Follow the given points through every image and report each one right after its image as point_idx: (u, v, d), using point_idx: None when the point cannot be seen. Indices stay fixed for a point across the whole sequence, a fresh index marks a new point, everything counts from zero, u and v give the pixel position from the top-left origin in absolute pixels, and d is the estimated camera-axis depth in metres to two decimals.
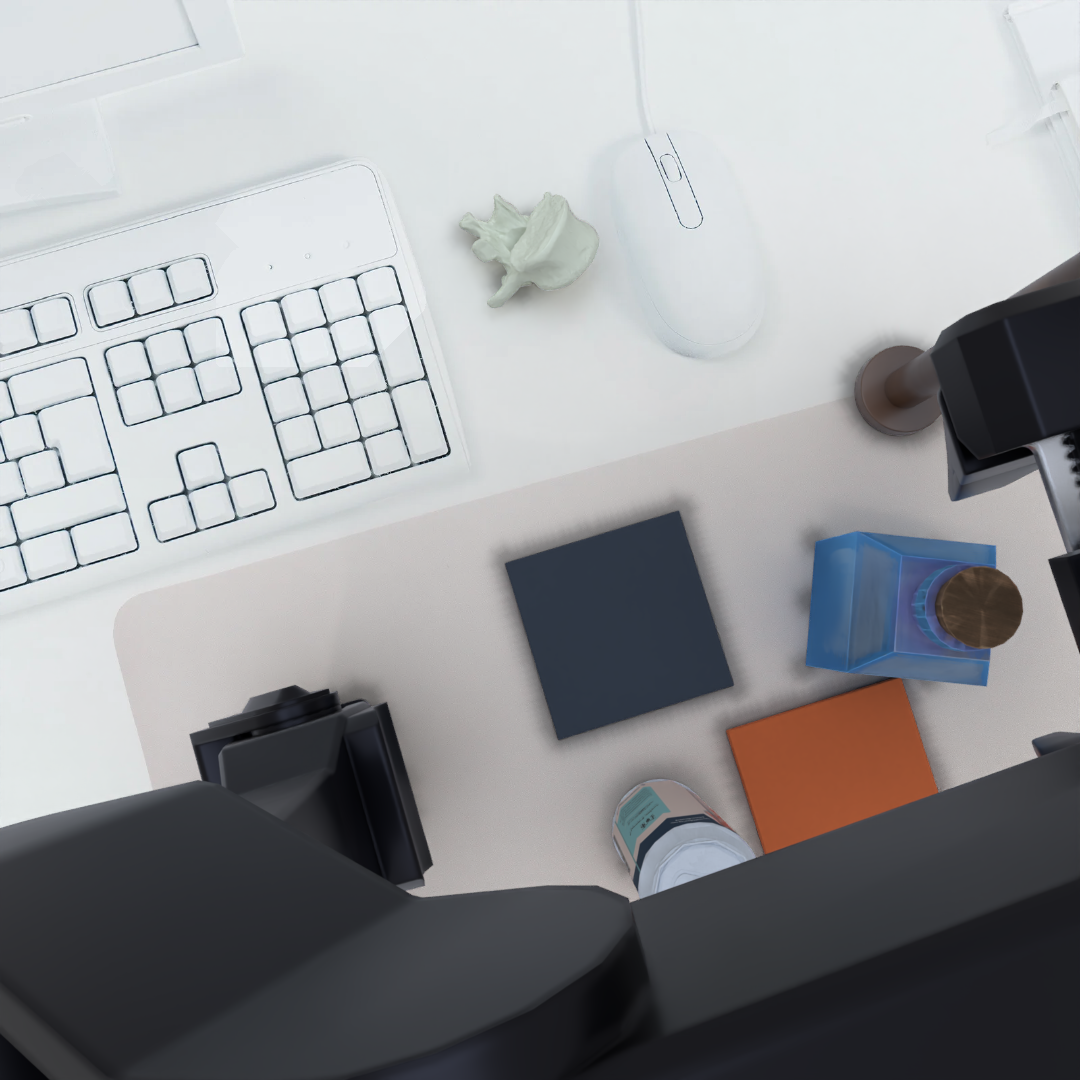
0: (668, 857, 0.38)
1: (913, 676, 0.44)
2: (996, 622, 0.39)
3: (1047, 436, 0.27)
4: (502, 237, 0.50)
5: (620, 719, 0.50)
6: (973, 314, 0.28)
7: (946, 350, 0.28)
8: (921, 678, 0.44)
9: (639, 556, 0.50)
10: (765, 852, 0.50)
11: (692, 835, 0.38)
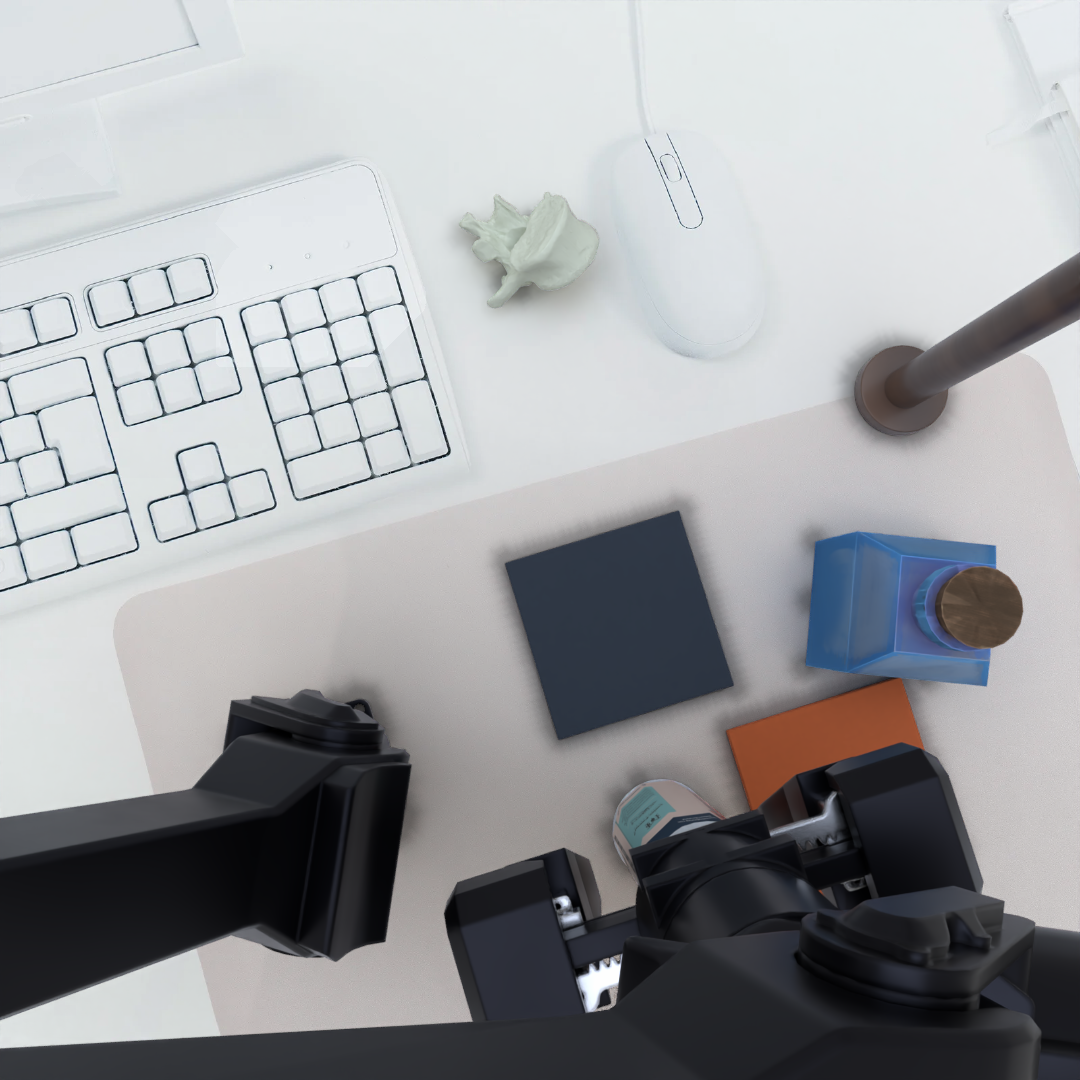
0: None
1: (913, 676, 0.44)
2: (996, 622, 0.39)
3: (850, 805, 0.36)
4: (502, 237, 0.50)
5: (620, 719, 0.50)
6: (938, 761, 0.37)
7: (908, 746, 0.38)
8: (921, 678, 0.44)
9: (639, 556, 0.50)
10: None
11: None
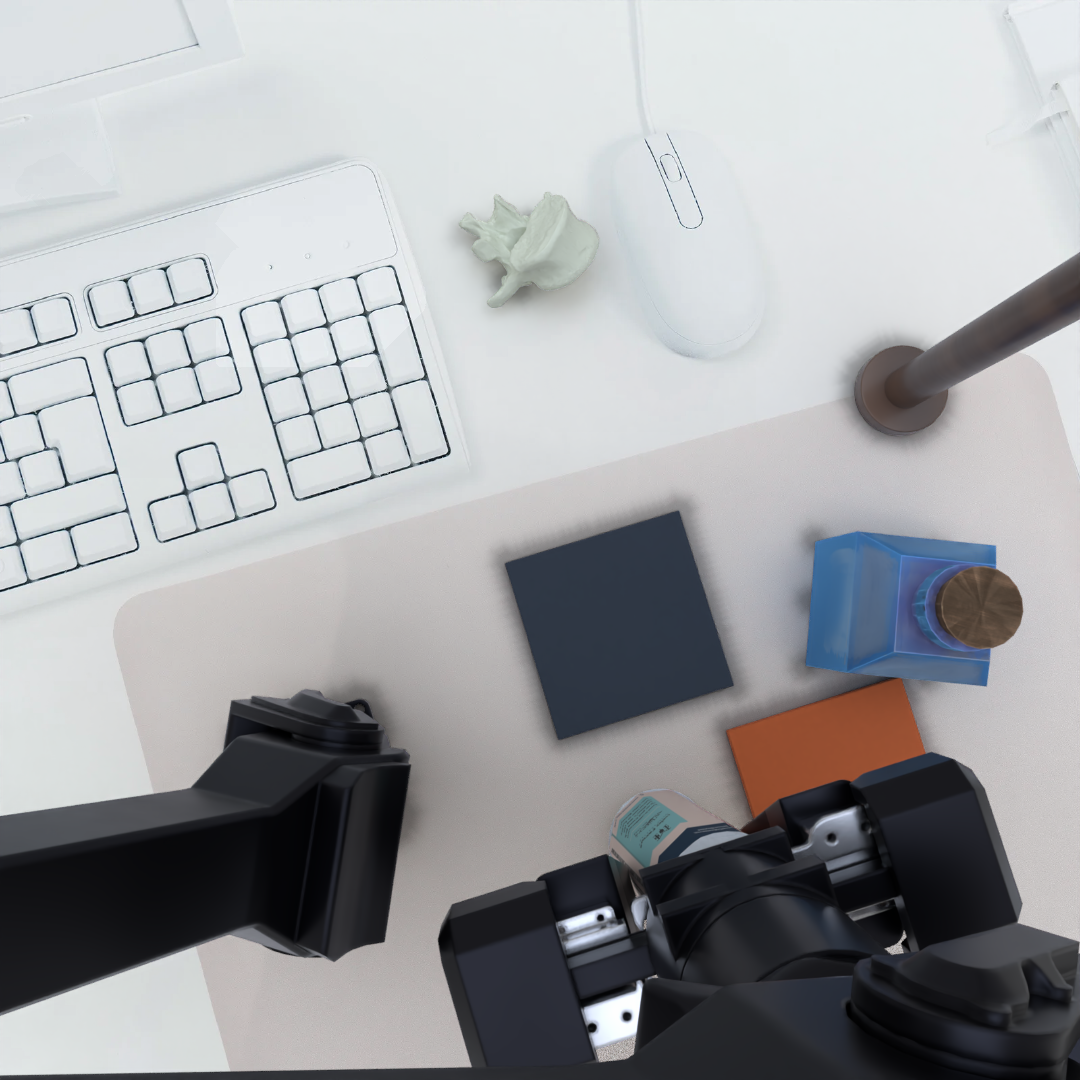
0: None
1: (913, 676, 0.44)
2: (996, 622, 0.39)
3: (880, 822, 0.33)
4: (502, 237, 0.50)
5: (620, 719, 0.50)
6: (972, 773, 0.34)
7: (939, 756, 0.35)
8: (921, 678, 0.44)
9: (639, 556, 0.50)
10: None
11: None
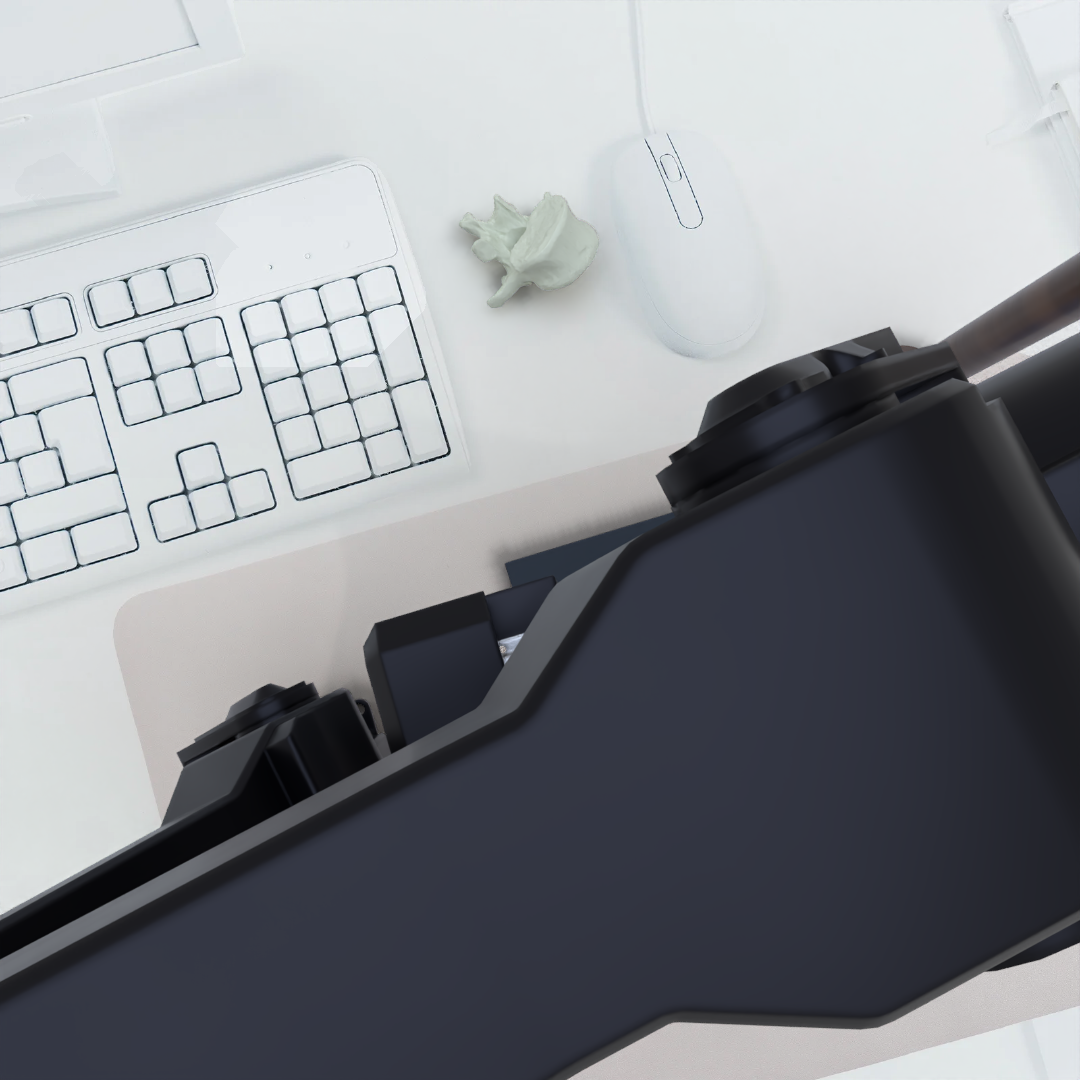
0: None
1: None
2: None
3: None
4: (502, 237, 0.50)
5: None
6: None
7: None
8: None
9: None
10: None
11: None
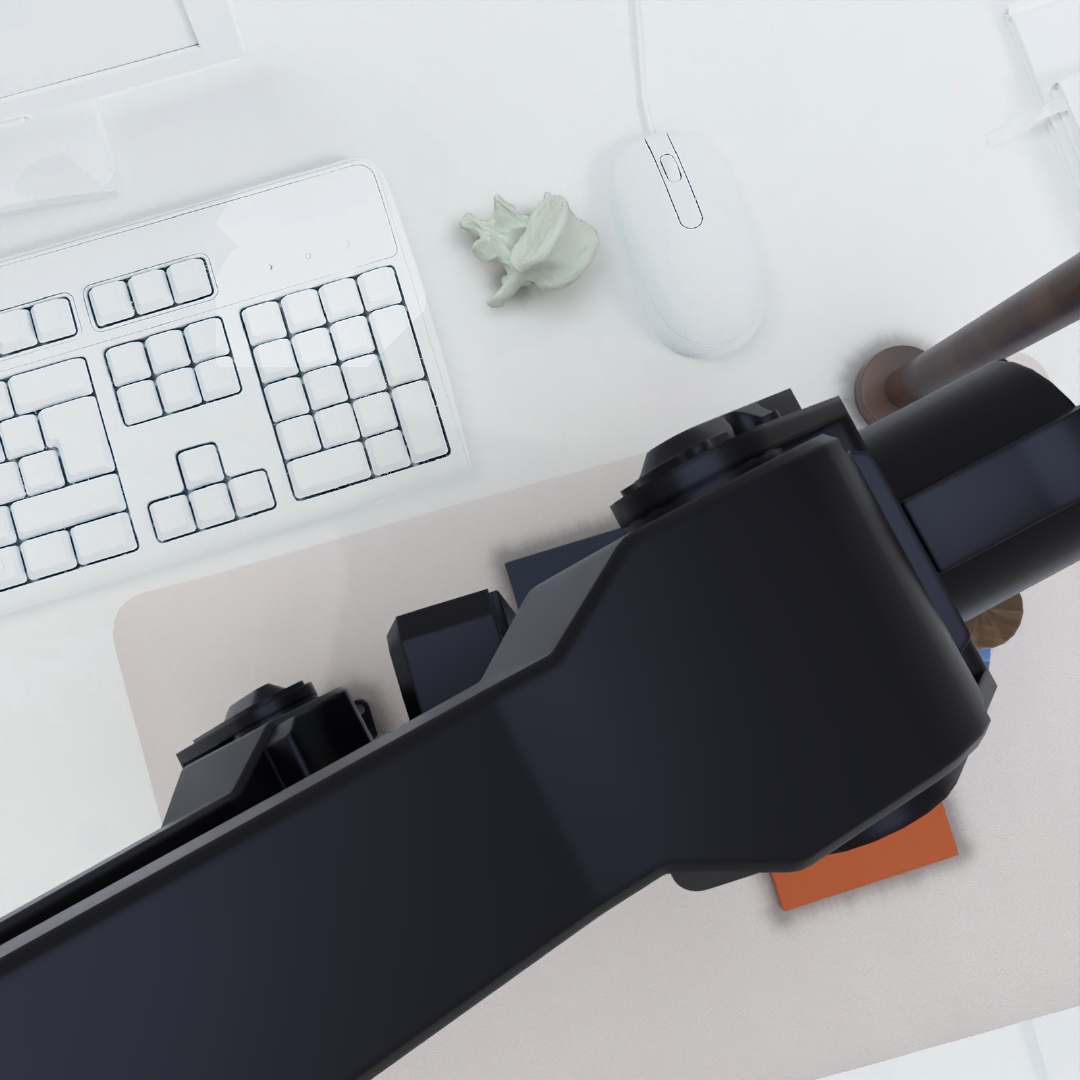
0: None
1: None
2: (996, 622, 0.39)
3: None
4: (502, 237, 0.50)
5: None
6: None
7: None
8: None
9: None
10: None
11: None
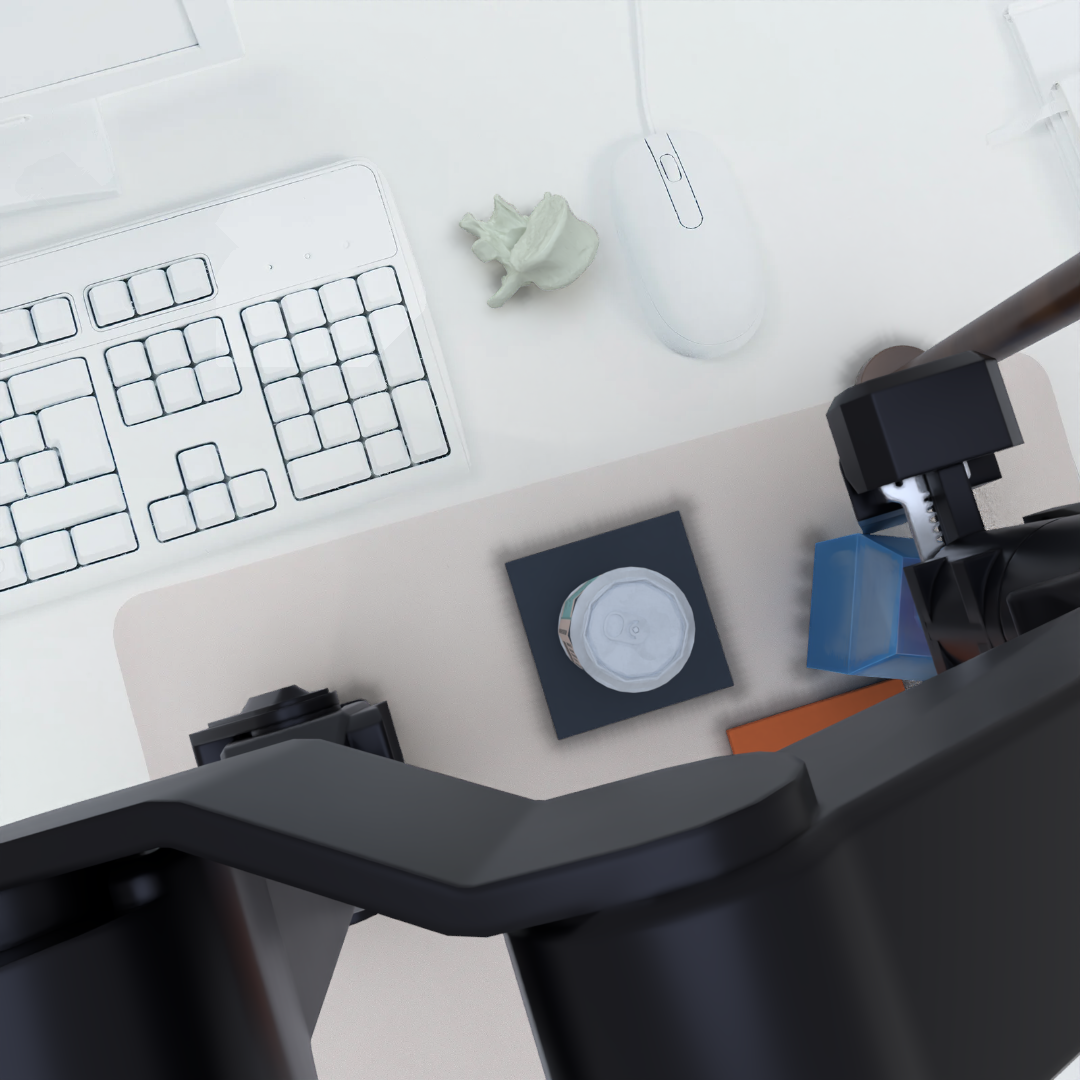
0: (599, 594, 0.38)
1: (915, 677, 0.44)
2: None
3: (901, 479, 0.37)
4: (502, 237, 0.50)
5: (620, 719, 0.50)
6: (852, 388, 0.38)
7: (834, 413, 0.39)
8: (923, 679, 0.44)
9: (639, 556, 0.50)
10: None
11: (623, 576, 0.39)
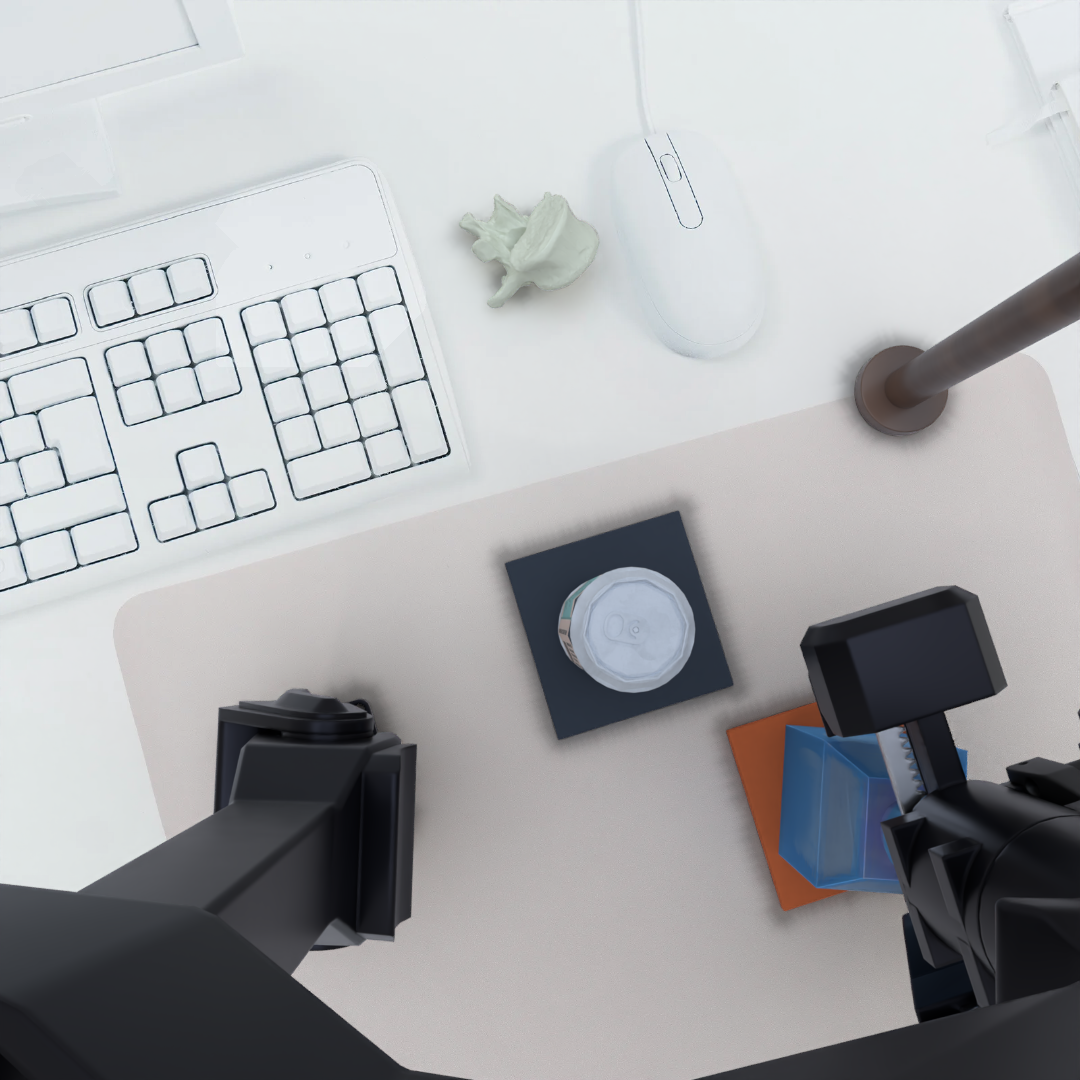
0: (599, 594, 0.38)
1: (885, 891, 0.43)
2: None
3: (878, 731, 0.35)
4: (502, 237, 0.50)
5: (620, 719, 0.50)
6: (826, 627, 0.36)
7: (808, 649, 0.37)
8: (893, 892, 0.43)
9: (639, 556, 0.50)
10: (765, 852, 0.50)
11: (623, 576, 0.39)
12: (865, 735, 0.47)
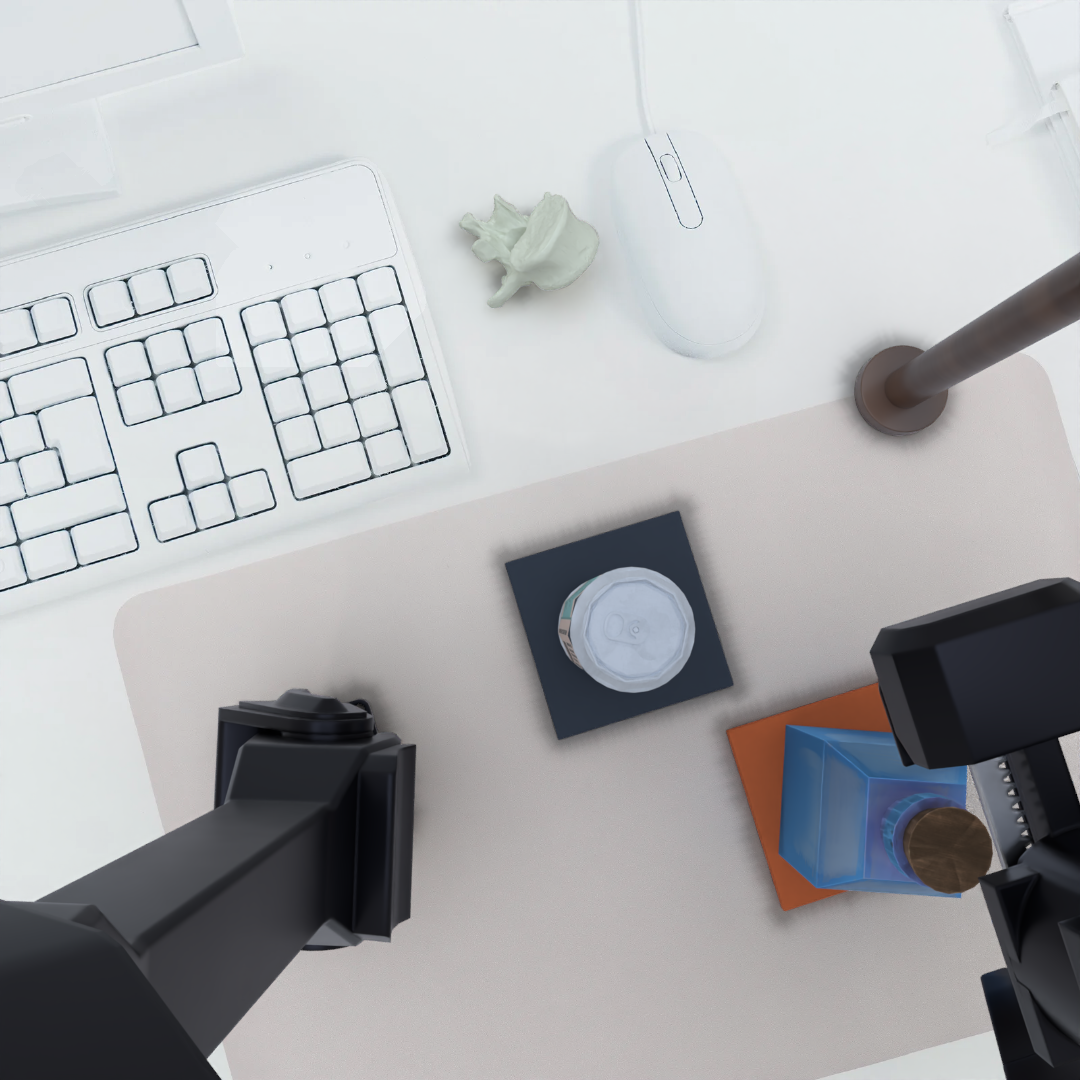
0: (599, 594, 0.38)
1: (885, 891, 0.43)
2: (965, 865, 0.38)
3: (976, 763, 0.27)
4: (502, 237, 0.50)
5: (620, 719, 0.50)
6: (908, 630, 0.29)
7: (883, 657, 0.29)
8: (893, 892, 0.43)
9: (639, 556, 0.50)
10: (765, 852, 0.50)
11: (623, 576, 0.39)
12: (865, 735, 0.47)
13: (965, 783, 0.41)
